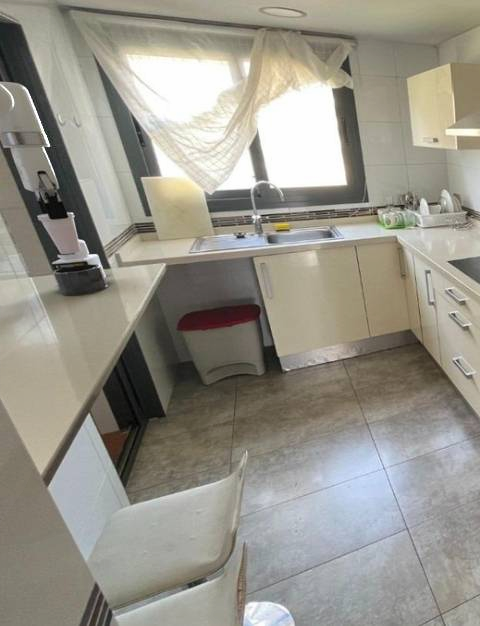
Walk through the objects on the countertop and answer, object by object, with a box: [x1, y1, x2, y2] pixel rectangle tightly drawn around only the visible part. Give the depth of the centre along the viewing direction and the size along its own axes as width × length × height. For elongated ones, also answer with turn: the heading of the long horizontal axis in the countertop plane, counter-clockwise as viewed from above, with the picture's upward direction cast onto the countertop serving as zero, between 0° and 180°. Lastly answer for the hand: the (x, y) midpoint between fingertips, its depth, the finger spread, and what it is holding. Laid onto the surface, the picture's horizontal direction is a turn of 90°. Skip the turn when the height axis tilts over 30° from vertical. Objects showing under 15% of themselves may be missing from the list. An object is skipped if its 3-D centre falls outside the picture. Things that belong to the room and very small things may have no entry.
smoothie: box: [36, 211, 81, 254], centre depth 115 cm, size 6×6×14 cm
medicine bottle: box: [51, 238, 107, 280], centre depth 125 cm, size 7×7×12 cm
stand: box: [51, 264, 109, 297], centre depth 120 cm, size 9×9×6 cm
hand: (56, 216), depth 114 cm, fingers closed on smoothie, 6 cm apart
